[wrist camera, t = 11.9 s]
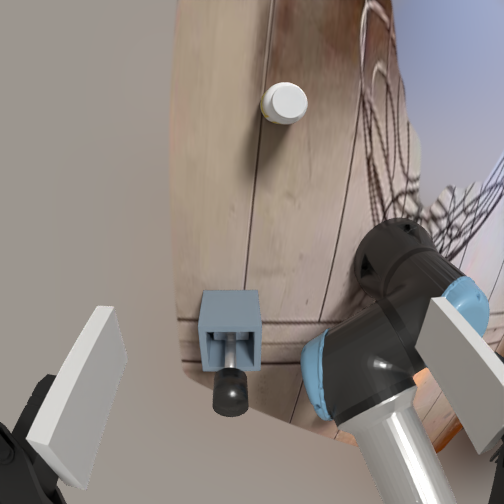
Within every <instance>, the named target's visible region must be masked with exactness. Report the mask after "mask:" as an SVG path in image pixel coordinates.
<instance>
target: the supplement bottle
mask: <svg viewBox="0 0 504 504" xmlns="http://www.w3.org/2000/svg"><path fill="white" fill-rule="evenodd" d="M260 109H261V112H262V114H263V116H264V117H265V118H266V119H267V120H268V121H270V122H272V123H276V124H292V123H295V122H297V121H298V120H300V119H301V118H302V117H303V116H304V114H305V112H306V110H307V98H306V95H305V93H304V92H303V91H302V89H301V88H299V87H298V86H296V85H295V84H292V83H287V82H282V83H278V84H275V85H273V86H272V87H271V88H269V89H268V90H267V91H266V92H265V94H264V95H263V96H262V98H261V101H260Z"/></svg>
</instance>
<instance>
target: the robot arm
mask: <svg viewBox="0 0 504 504" xmlns="http://www.w3.org/2000/svg"><path fill="white" fill-rule="evenodd" d="M355 274H356V278H357V280H358V282H359V284H360V285H361V287H362V288H363V290H364V291H365V292H366V293H367V294H368V295H369V296H370V297H372V298H373V299H375V300H377V302H375V303H373V304H372V305H370V306H368V307H367V308H365V309H363V310H362V311H360V312H358V313H357V314H355V315H353V316H352V317H350V318H348V319H347V320H345V321H343V322H341V323H339V324H338V325H336V326H334V327H332V328H329V329H326V330H325V331H324V332H323V333H322V334H321V335H319V336H317V337H316V338H314V339H312V340H311V341H309V342H308V343H307V344H306V345H305V346H304V348H303V350H302V352H301V372H302V377H303V381H304V385H305V389H306V392H307V395H308V397H309V400H310V402H311V404H312V405H313V406H314V409H315V411H316V413H317V415H318V416H319V417H320V418H321V419H322V420H325V421H327V420H329V421H332V420H334V421H335V423H336V425H337V428H338V429H339V430H342V431H345V432H348V433H350V434H352V435H353V436H354V437H355V439H356V441H357V444H358V446H359V448H360V450H361V453H362V455H363V457H364V460H365V462H366V464H367V466H368V469H369V471H370V473H371V476H372V478H373V480H374V482H375V485H376V487H377V490H378V492H379V494H380V497H381V499H382V501H383V504H457V502H456V499H455V497H454V494H453V492H452V490H451V487H450V485H449V482H448V480H447V478H446V475H445V473H444V471H443V468H442V466H441V464H440V462H439V460H438V457H437V455H436V453H435V450H434V448H433V446H432V444H431V442H430V439H429V437H428V435H427V433H426V431H425V429H424V427H423V424H422V422H421V420H420V418H419V416H418V414H417V412H416V410H415V408H414V406H413V400H414V397H415V394H416V391H417V386H416V384H415V382H414V380H413V378H412V376H413V375H414V374H416V373H418V372H419V371H421V370H422V369H424V368H426V367H427V368H429V370H430V372H431V373H432V375H433V376H434V378H435V380H436V381H437V383H438V385H439V386H440V388H441V389H442V391H443V393H444V394H445V396H446V398H447V399H448V401H449V403H450V404H451V406H452V408H453V410H454V411H455V413H456V415H457V416H458V418H459V420H460V422H461V423H462V425H463V427H464V429H465V430H466V432H467V434H468V436H469V438H470V439H471V441H472V443H473V445H474V447H475V449H476V451H477V452H478V454H479V455H480V454H482V453H484V452H486V451H488V450H490V449H492V448H493V447H494V446H495V445H496V444H497V442H498V441H499V440H500V439H502V441H503V444H502V445H501V447H500V448H499V449H498V450H497V451H496V453H494V455H493V456H492V457H491V459H490V462H491V461H493V460H494V459H495V458H496V457H497V456H498V455H499V456H498V459H497V460H496V461H495V463H497V467H496V473H495V477H494V482H493V486H492V491H491V495H490V499H489V503H488V504H504V357H502V356H501V355H499V354H498V353H497V352H493V351H492V349H491V348H490V347H489V346H488V345H487V344H486V342H485V341H484V340H483V339H482V337H483V334H484V333H485V331H486V328H487V325H488V321H489V303H488V300H487V297H486V296H485V294H484V293H483V292H482V291H481V289H480V288H479V287H478V286H477V285H476V284H475V282H474V281H473V280H472V279H471V278H470V277H467V276H466V275H465V274H464V273H463V272H461V271H460V270H459V269H458V268H457V267H455V266H454V265H453V264H452V263H451V262H449V261H448V260H447V259H446V258H444V257H443V256H442V255H441V254H439V253H438V251H437V249H436V247H435V245H434V243H433V241H432V239H431V237H430V235H429V233H428V232H427V231H426V230H425V229H424V228H423V227H422V226H420V225H419V224H417V223H416V222H414V221H412V220H410V219H406V218H393V219H389V220H386V221H384V222H382V223H380V224H378V225H377V226H375V227H374V228H373V229H372V230H371V231H370V232H369V233H368V234H367V235H366V236H365V237H364V239H363V240H362V242H361V244H360V246H359V248H358V250H357V253H356V257H355ZM127 360H128V357H127V353H126V350H125V346H124V343H123V339H122V335H121V331H120V328H119V324H118V320H117V316H116V312H115V308H114V307H111V306H110V307H109V306H97V307H96V309H95V310H94V312H93V314H92V316H91V317H90V319H89V320H88V322H87V324H86V325H85V327H84V329H83V330H82V332H81V334H80V336H79V337H78V339H77V341H76V342H75V344H74V346H73V348H72V349H71V351H70V353H69V355H68V356H67V358H66V360H65V362H64V364H63V365H62V368H61V369H60V371H59V373H58V375H57V376H55V375H49V374H47V375H46V376H45V377H44V378H43V379H42V380H41V381H40V382H38V384H37V385H36V387H35V389H34V391H33V393H32V396H31V397H30V398H29V400H28V402H27V405H26V406H25V408H24V410H23V411H22V413H21V416H20V417H19V419H18V421H17V423H16V425H15V428H14V429H13V431H12V433H10V431H9V430H8V429H7V427H6V426H5V425H3V424H2V423H1V422H0V504H67V503H66V502H65V500H64V498H63V496H62V493H61V491H60V489H59V488H58V486H57V485H56V484H57V481H58V478H60V479H61V480H62V481H63V482H64V483H65V484H66V485H68V486H71V487H75V488H79V489H83V490H87V486H88V483H89V479H90V475H91V472H92V468H93V464H94V461H95V458H96V454H97V451H98V448H99V444H100V441H101V438H102V434H103V431H104V428H105V424H106V422H107V419H108V415H109V412H110V409H111V406H112V403H113V400H114V397H115V394H116V391H117V389H118V386H119V383H120V380H121V377H122V374H123V372H124V369H125V366H126V363H127Z"/></svg>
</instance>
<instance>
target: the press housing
mask: <svg viewBox="0 0 504 504" xmlns="http://www.w3.org/2000/svg"><path fill="white" fill-rule="evenodd" d="M198 332H199V341H200V350H201V359H202V367H203V371H219V370H221V369H223V368H225V344H226V340H214V332H249V340H236V368H237V369H240V370H242V371H260V367H261V339H262V322H261V314H260V306H259V298H258V290H215V291H203V297H202V303H201V310H200V316H199V322H198Z"/></svg>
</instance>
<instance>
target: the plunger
mask: <svg viewBox="0 0 504 504" xmlns="http://www.w3.org/2000/svg"><path fill="white" fill-rule="evenodd" d="M214 340H226V344H225V368H223V369H221V370H219V371H218V372H216V374H215V376H214V389H213V409H214V411H215V412H216V413H218V414H220V415H222V416H226V417H236V416H240V415H242V414H244V413H245V412H246V411H247V410H248V388H247V376H246V374H245V373H244V372H243V371H242V370H240V369H237V368H236V340H249V332H214Z"/></svg>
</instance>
